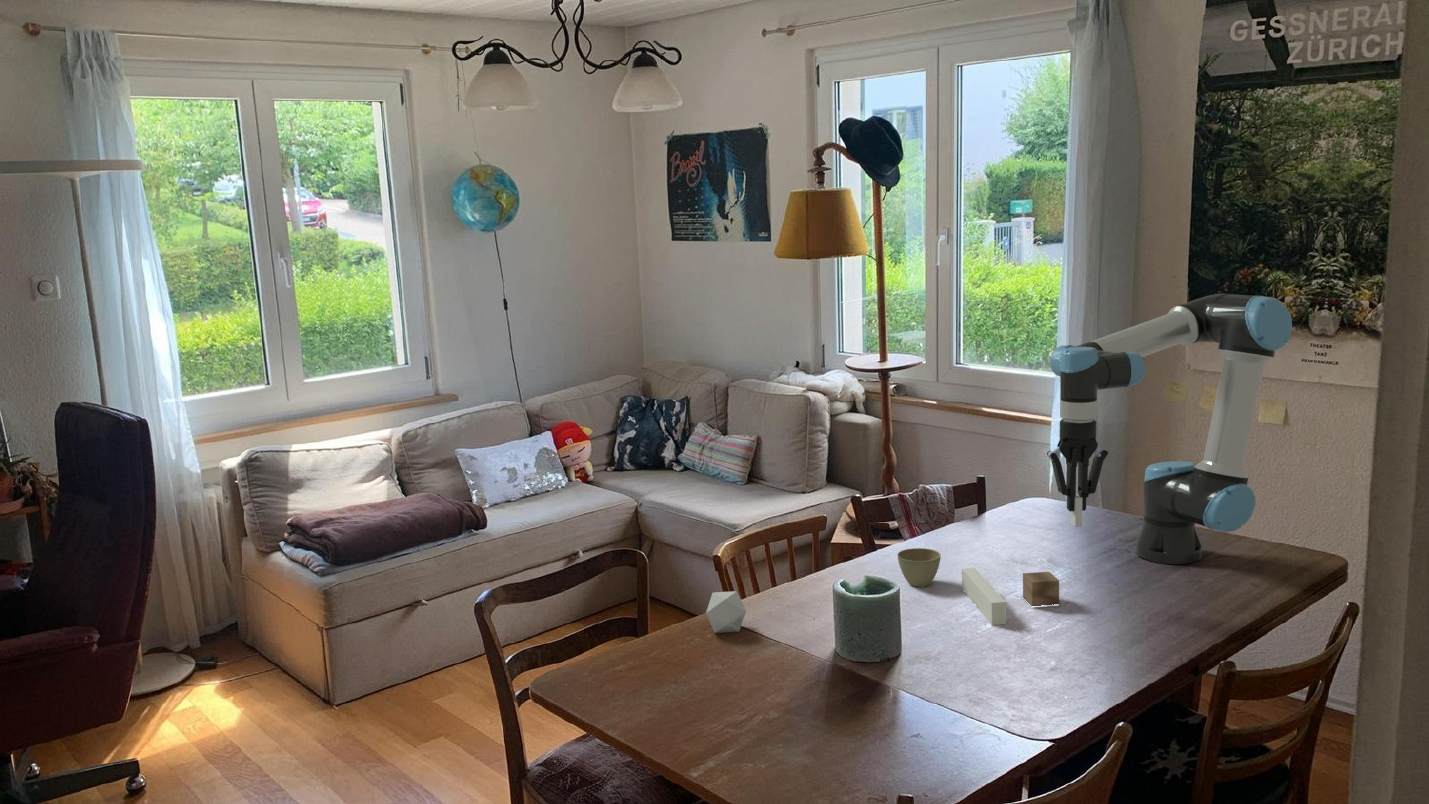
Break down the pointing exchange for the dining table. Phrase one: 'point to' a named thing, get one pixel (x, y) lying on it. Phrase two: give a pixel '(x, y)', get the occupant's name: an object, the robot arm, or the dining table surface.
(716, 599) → the die
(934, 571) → the flower pot
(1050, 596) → the block
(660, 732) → the dining table surface
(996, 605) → the board
